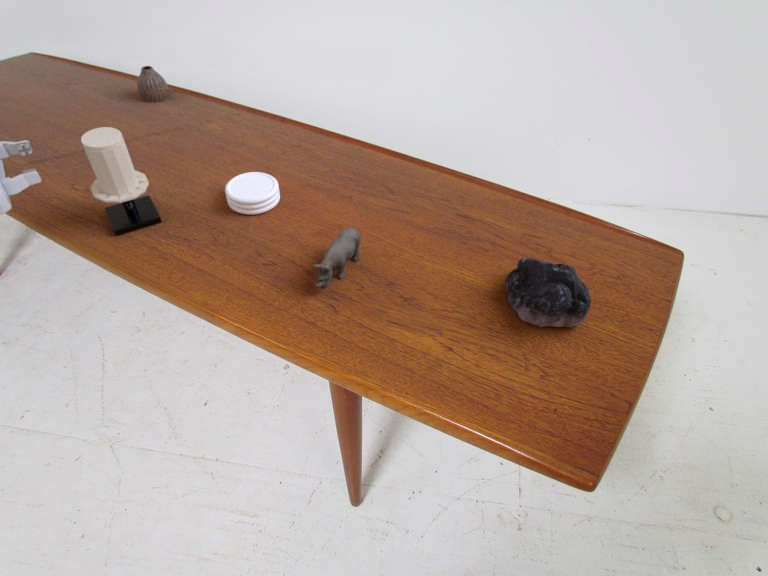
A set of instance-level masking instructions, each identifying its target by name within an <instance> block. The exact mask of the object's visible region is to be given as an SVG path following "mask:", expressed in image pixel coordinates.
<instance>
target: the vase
mask: <svg viewBox="0 0 768 576" xmlns="http://www.w3.org/2000/svg"><path fill="white" fill-rule="evenodd" d="M136 87H137V92H138V94H139V96H140V98H141V100H142V101H143V102H146V103H158V102H163V101H165V100H167V99H168V98H170V90H169V86H168V83H167V82H166V80H165V78H164V77H163V76H162V75H161V74H160V73H159V72H157V70H155V69H154V68H153V66H151V65H145V66H142V67H141V69H140V73H139V75H138V78H137V83H136Z"/></svg>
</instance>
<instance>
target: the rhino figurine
mask: <svg viewBox="0 0 768 576" xmlns="http://www.w3.org/2000/svg"><path fill="white" fill-rule="evenodd" d="M361 238H362V236H361V234H360V232H359V231H358V230H357V229H355V228H354V227H347V228H343V229H342V230H340V231H339V233H338V234H337V236H336V238H334V239H333V241H332V242H331V243H330V245H329V246H328V247H327V248H326V250H325V251H324V252H323V255H322V260H321V262H320V263H319V264H312V267H313V268H314V269H316V270H318V269H319V270H318V274H317V279H318V281H317V284H315V285H314V286H315V288H317V289H321V290H325V289H327V288H328V285H329V284H330V281H332V278H333V276H334V272H335V271H336V270H337V273H336V278H338V279H340V280H343V279H345V278H346V273H345V271H344V269H345V267H346V265H347V261H349V260H350V259H351V260H353V261H354V262H357V261H360V260H361V256H360V254H359V253H360V252H359V251H360V245H361V244H362V243H361V241H362V239H361Z"/></svg>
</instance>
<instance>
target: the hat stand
mask: <svg viewBox="0 0 768 576" xmlns="http://www.w3.org/2000/svg"><path fill="white" fill-rule="evenodd" d="M150 196H151V195H145V196H142V197H137V198H135V199H133V200H129V201H126V202H122V203H115V204H113V205H109V206H106V207H104V211H105V213H106V217H107V218H108V221H109V223H110V226H111V229H112V231H113V233H114V235H115V237H119V236H121V235H124V234H125V235H126V234H128V233H131V232H134V231H135V232H136V231H138V230H141V229H144V228H147V227H151V226H155V225H158V224H161V223H163V221H162V218H161V215H160V214H159V211H158V210H157V208H156V206H155V204H154V202H153V200H152V198H151V197H150Z"/></svg>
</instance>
